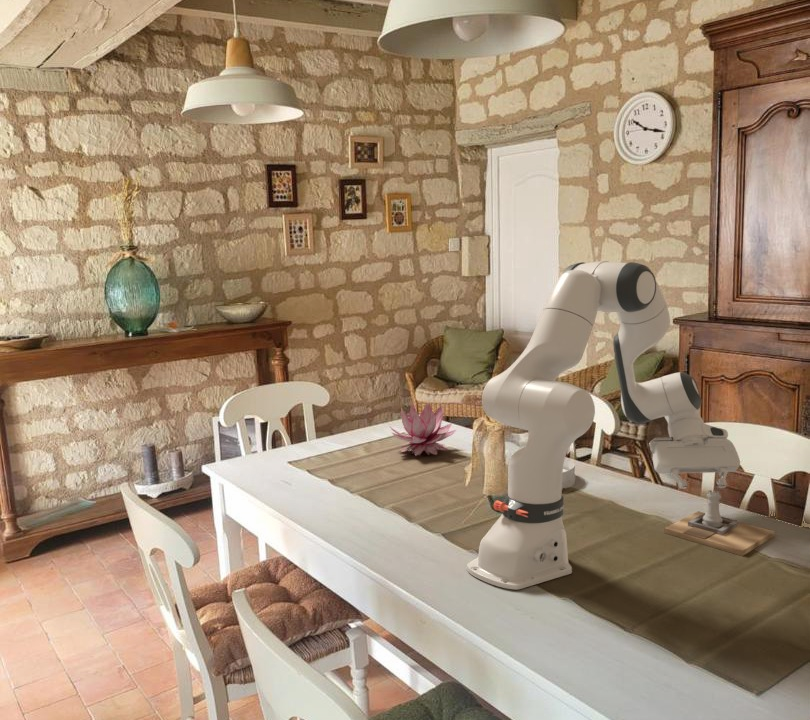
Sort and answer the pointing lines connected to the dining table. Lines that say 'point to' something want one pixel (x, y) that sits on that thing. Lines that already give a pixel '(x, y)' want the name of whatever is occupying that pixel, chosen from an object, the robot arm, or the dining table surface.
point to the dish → (568, 473)
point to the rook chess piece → (713, 510)
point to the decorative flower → (424, 430)
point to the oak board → (720, 534)
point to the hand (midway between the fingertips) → (703, 487)
